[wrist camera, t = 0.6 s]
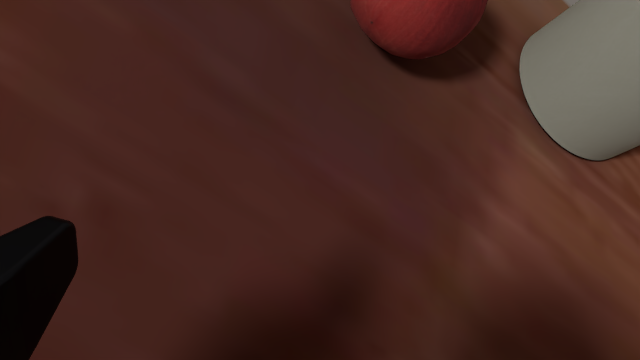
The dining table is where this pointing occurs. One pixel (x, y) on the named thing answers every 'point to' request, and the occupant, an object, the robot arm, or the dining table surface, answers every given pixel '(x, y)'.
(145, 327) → the dining table surface
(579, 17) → the travel mug
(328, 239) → the dining table surface
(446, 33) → the onion
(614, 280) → the dining table surface
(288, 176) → the dining table surface
